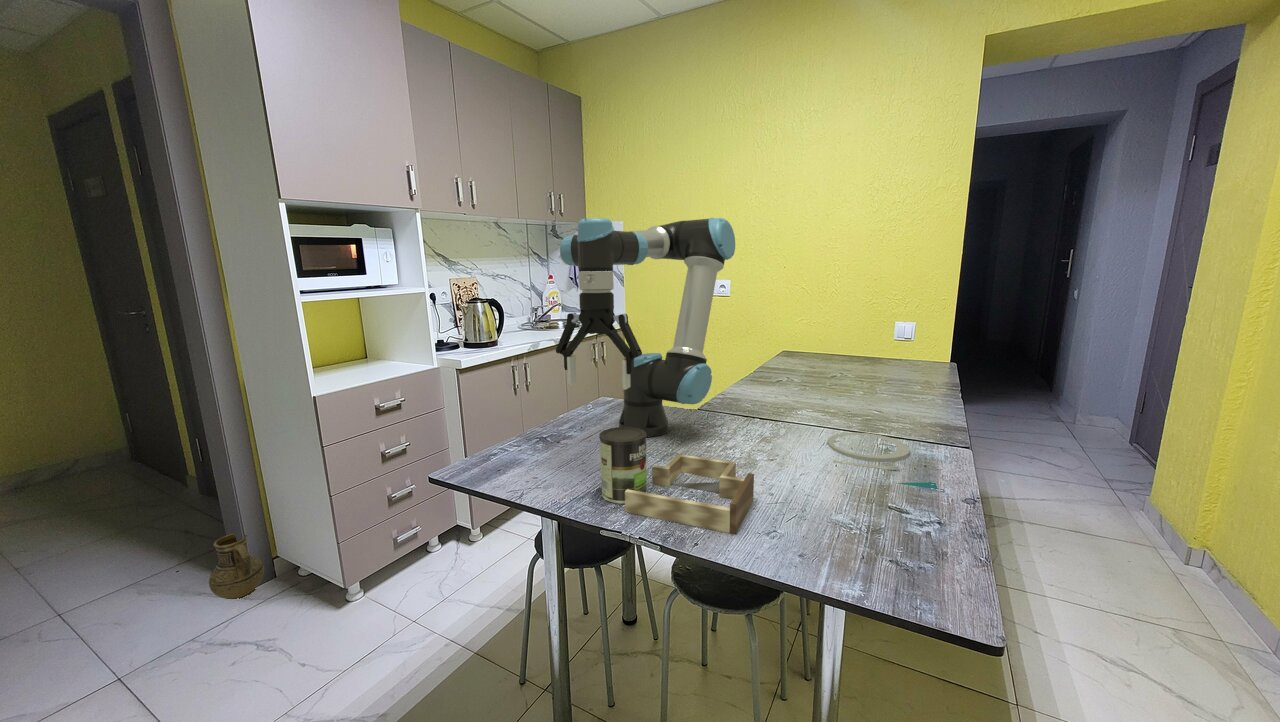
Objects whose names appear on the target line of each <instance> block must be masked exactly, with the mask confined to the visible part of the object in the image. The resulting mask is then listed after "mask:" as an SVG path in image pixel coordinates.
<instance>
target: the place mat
mask: <svg viewBox="0 0 1280 722" xmlns="http://www.w3.org/2000/svg"><path fill="white" fill-rule="evenodd" d="M845 436H867V437H873V438H878V439H881V440H884V441H887V442H889V443H892V444H894V445H895V446H896V449H895V451H893V452H891V453H887V454H878V455H872V454H871V455H870V454H862V453H856V452H851V451H848V450H845V449H843V448H840V447H837V446H836V445H835V443H834V442H835V440H837V439H838V438H840V437H845ZM827 444H828V447H829V448H830V449H831V450H833V452H836V453H837V454H840V455H842V456H845V457H848V458H851V459H855V460H858V461H859V460H860V461H865V462H872V463H894V462H899V461H904V460H905V459H908V458H909V456H910V452H911V450H910V448H909V446H908V445H907V444H905V443H904V442H902V441H901V440H898V439H896V438H892V437H889V436H885V435H880V434H875V433H867V432H842V433H837V434H833V435H831V436H829V438H828V440H827ZM832 462H833V463H835V464H840V465H849V466H857V467H865V468H872V469H878V470H884V471H895V470H896V471H897V470H898V471H899V470H900V469H901V466H900V465H897V466H892V465H891V466H889V465H885V466H884V465H882V466H881V465H874V464H867V463H866V464H865V463H856V462H849V461H848V462H847V461H846V462H843V461H840V460H832ZM927 482H928V483H927ZM927 482H926V481H925V482H924V481H923V482H922V481H919V482H896V484H899V485H906V486H914V487H915V488H914V489H916V488H917V489H918V490H924V491H931V492H932V491H933V492H937V490H936V489H938V488H937V487H938V485H937V483H932V482H933V481H927ZM931 484H934V485H931ZM936 485H937V486H936ZM931 488H934V489H931ZM940 490H943V491H940V492H939V493H944V492H946V490H945V488H944V489H940Z"/></svg>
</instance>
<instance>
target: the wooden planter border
mask: <svg viewBox="0 0 1280 722" xmlns="http://www.w3.org/2000/svg"><path fill="white" fill-rule="evenodd" d="M736 470H737V462H734V461H729V460H721V459H713V458H708V457H700V456H693V455H686V454H681V453H680V454H677V455H676V456H674V457H673V458H672V459H671V460H670V462H668V463H667V464H666V465H665V466H663V465H657V464H653V465H652V466H651V484H652V485H655V486H661V487H666V488H669V487H671V486H676V487H680V488H682V487H683V488H686V489H692V490H698V491H703V492H708V493H713V494H718V495H719V496H718V497H720V498H725V499H731V502H729V507H726V506H722V505H721V506H720V505H716V504H712V503H711V504H710V503H704V502H700V501H694V500H688V499H683V498H679V497H678V498H677V497H671V496H666V495H661V494H655V493H650V492H647V493H645V492H640V491H634V490H629V489H627V490H626V491H625V504H624V510H625V513H629V514H634V515H638V516H645V517H648V518H653V519H659V520H663V521H668V522H673V523H676V524H677V523H678V524H683V525H688V526H693V527H697V528H703V529H707V530H712V531H717V532H722V533H727V534H732V535H737V533H738V532H739V529H740V527H741V526H742V523H743V522H744V519H745V517H746V515H747V513H748V511H749V509H750V508H751V506H752V503H753V502H754V492H755V489H754V487H755V480H754V479H755V473H752V472H748V473H747V475H746V476H745V478H741V477H737V476H736V473H737V471H736ZM682 473H683V474H688V475H694V476H699V477H700V476H701V477H705V478H711V479H716V480H719V482H690V483H689V482H688V483H686V482H684V483H673V482H674V481H675V480H676V479H677V477H679V475H680V474H682Z"/></svg>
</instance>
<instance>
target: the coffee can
mask: <svg viewBox="0 0 1280 722" xmlns="http://www.w3.org/2000/svg"><path fill="white" fill-rule="evenodd" d="M599 440H600V441H599V443H600V444H599V446H600V449H599V450H600V474H601V475H600V476H601V478H600V479H601V497H602V498H603V499H604V500H605V501H607V502H609V503H612V504H619V505H620V504H621V505H623V504H624V505H625V491H626V490H627V489H629V490H634V491H640V492H645V493H648V491H647V489H648V488H647V485H648V484H647V437H646V432H645V431H644V430H642V429H639V428H634V427H619V426H618V427H615V426H614V427H611V428H607V429H604V430H602V431H601V432H599Z"/></svg>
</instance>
